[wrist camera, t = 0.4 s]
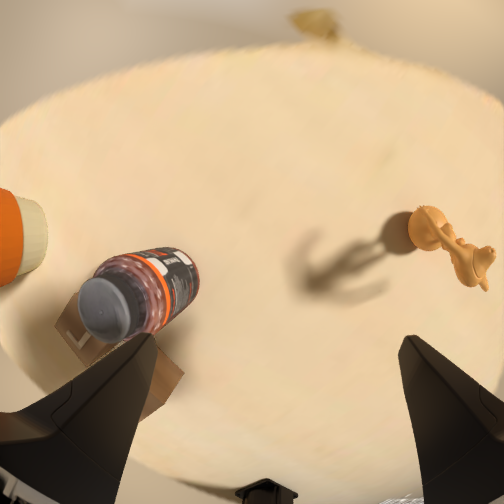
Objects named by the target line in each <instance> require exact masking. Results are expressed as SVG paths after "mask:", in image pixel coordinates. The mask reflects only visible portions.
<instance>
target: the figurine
mask: <svg viewBox="0 0 504 504" xmlns="http://www.w3.org/2000/svg"><path fill="white" fill-rule="evenodd" d="M408 233H409V236H410V239H411V241H412V242H413V243H414V245H415V246H417V247H418V248H419V249H421V250H424V251H433V250H436V249H438V248H440V247H441V246H442V248H443V250H447V251H448V252H449V253H450V256H451V262H452V264H454V269H455V272H456V275H457V277H458V279H459V281H460V282H461V283H462V284H463V285H465V286H467V287H475V286H476V285H478V284H479V285H480V286H481V288H482V289H483V290H484V291H485V292H487V291H488V289H489V286H488V282H487V279H486V271H487V269H488V268H489V267H490V265H491V264H492V263H493V262H494V260H495V258H496V251H495V249H494V248H491V246H485V247H483V248H481V249H478V248H477V247H476V246H474V245H472V244H465V240H464V239H463V238H459V239H456V235H455V233H454V231H453V228H452V225H451V224H450V223H448V221H447V219H446V217H445V215H444V214H443V213H442V212H441V211H440V210H439V209H437V208H435V207H432V206H424V205H423V207H421V206H420V208H417V210H416V211H414V213H413V214H412V215H411V217H410V219H409V223H408Z"/></svg>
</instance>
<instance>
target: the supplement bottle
mask: <svg viewBox="0 0 504 504" xmlns="http://www.w3.org/2000/svg"><path fill="white" fill-rule="evenodd" d="M199 282H200V280H199V273H198V270H197V267H196V265H195V263H194V262H193V261H192V259H191V258H190V257H189V256H188V255H187V254H186V253H184V252H183V251H181V250H179V249H176V248H169V247H162V248H155V249H150V250H145V251H140V252H134V253H127V254H123V255H119V256H114V257H112V258H110V259H108V260H106V261H105V262H103V263H102V264H101V265H100V266H99V267H98V269H97V270H96V272H95V274H94V276H93V278H91V279H89V280H87V281H86V282H85V283H84V284H83V285H82V287H81V289H80V291H79V294H78V300H77V302H78V303H77V306H78V311H79V315H80V318H81V321H82V322H83V324H84V326H85V328H86V329H87V330H88V331H89V333H90V334H91V335H92V336H94V337H95V338H96V339H97V340H100V341H101V342H104V343H109V344H112V343H117V342H120V341H122V340H123V341H129V340H130V339H132V338H133V337H134V336H136V335H137V334H139V333H140V332H148V333H152V334H153V336H154V335H155V334H156V333H157V332H158V331H160V330H161V329H162V328H163V327H164V326H166V325H167V324H168V323H169V322H170V321H171V320H172V319H174V318H175V317H176V316H177V315H178V314H179V313H181V312H182V311H183V310H184V309H185V308H186V307H187V306H188V305H189V304H190V303H191V302H192V301H193V300H194V299H195V297H196V295H197V293H198V290H199Z"/></svg>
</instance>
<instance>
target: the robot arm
mask: <svg viewBox="0 0 504 504" xmlns="http://www.w3.org/2000/svg"><path fill="white" fill-rule="evenodd" d="M157 356H158V349H157V345H156V342H155V339H154V336H153V334H152V333H148V332H140V333H139V334H137V335H136V336H134V337H133V338H132V339H130V340H129V341H127V342H126V343H124V344H123V345H121V346H120V347H119V348H117V349H116V350H114V351H113V352H111V353H110V354H109V355H107V356H106V357H104V358H103V359H101V360H100V361H98V362H97V363H96V364H94V365H93V366H91V367H90V368H88V369H87V370H85V371H84V372H83V373H81V374H80V375H78V376H77V377H75V378H74V379H73V380H71V381H69V382H68V383H67V384H65V385H64V386H62V387H61V388H59V389H58V390H56V391H54V392H53V393H51V394H49V395H48V396H46V397H44V398H42V399H41V400H39V401H37V402H36V403H33V404H31V405H30V406H28V407H26V408H24V409H22V410H20V411H17V412H12V413H5V412H0V504H114V503H115V499H116V495H117V492H118V488H119V485H120V481H121V477H122V474H123V470H124V467H125V464H126V460H127V457H128V454H129V450H130V447H131V444H132V441H133V438H134V435H135V432H136V429H137V425H138V422H139V419H140V416H141V413H142V411H143V408H144V405H145V402H146V399H147V396H148V393H149V390H150V386H151V382H152V377H153V373H154V369H155V364H156V360H157ZM398 359H399V365H400V370H401V376H402V383H403V389H404V394H405V398H406V402H407V406H408V410H409V415H410V419H411V423H412V428H413V433H414V437H415V442H416V448H417V453H418V459H419V465H420V471H421V478H422V485H423V486H422V487H423V495H424V504H504V402H503V401H501V400H500V399H498V398H497V397H496V396H494V395H493V394H492V393H490V392H489V391H488V390H486V389H485V388H484V387H483V386H482V385H479V383H478V382H476V381H475V380H474V379H473V378H471V377H470V376H469V375H468V374H466V373H465V372H464V371H463V370H461V369H460V368H459V367H457V366H456V365H455V364H454V363H452V362H451V361H450V360H448V359H447V358H446V357H445V356H443V355H442V354H441V353H439V352H438V351H437V350H435V349H434V348H433V347H432V346H430V345H429V344H428V343H426V342H425V341H424V340H422V339H421V338H420V337H418V336H417V335H407V336H406V337H405V338H404V340H403V343H402V345H401V347H400V350H399V353H398ZM235 495H236V496H237V497H239V498H241V499H243V501H242V504H293V499H295V498H297V497H298V494H297V493H295V492H293V491H291V490H289V489H287V488H285V487H283V486H282V485H280V484H278V483H276V482H274V481H272V480H270V479H266V480H263V481H261V482H259V483H256V484H254V485H252V486H249V487H247V488H244V489H242V490H239V491H236V492H235Z"/></svg>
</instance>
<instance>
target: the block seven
mask: <svg viewBox="0 0 504 504" xmlns="http://www.w3.org/2000/svg"><path fill="white" fill-rule="evenodd" d="M78 294H79V292H77V293H74V295H73V296H72V298H71V300H70V301H69V303H68V304H67V306H66V308H65V309H64V311H63V312H62V314H61V316H60V317H59V319H58V321H57V323H56V324H55V327H56V329H57V330H58V332H59V333H60V334H61V336H62V337H63V338H64V340H65V341H66V342H67V344H68V345H69V346H70V347H71V349H72V350H73V351H74V352H75V354H76V355H77V356H78V357H79V358H80V360H81V361H82V362H83V363H84V364H85V366H86V367H88V366H89V365H91V364H92V363H93V362H95V361H96V360H97V359H99V358H100V357H101V356H103V355H104V354H105V353H107V352H108V351H110V350H111V349H112V348H114V347H115V346H116V345H117V344H118V343H119V342H117V343H112V344H109V343H104V342H101V341H100V340H97V339H96V338H95V337H94V336H92V335H91V334H90V333H89V331H88V330H87V329H86V328H85V326H84V324H83V322H82V321H81V318H80V315H79V311H78V306H77V303H78V302H77V300H78Z"/></svg>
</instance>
